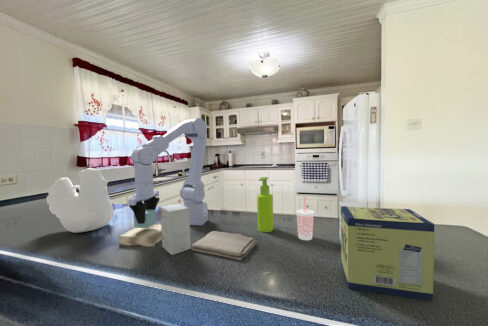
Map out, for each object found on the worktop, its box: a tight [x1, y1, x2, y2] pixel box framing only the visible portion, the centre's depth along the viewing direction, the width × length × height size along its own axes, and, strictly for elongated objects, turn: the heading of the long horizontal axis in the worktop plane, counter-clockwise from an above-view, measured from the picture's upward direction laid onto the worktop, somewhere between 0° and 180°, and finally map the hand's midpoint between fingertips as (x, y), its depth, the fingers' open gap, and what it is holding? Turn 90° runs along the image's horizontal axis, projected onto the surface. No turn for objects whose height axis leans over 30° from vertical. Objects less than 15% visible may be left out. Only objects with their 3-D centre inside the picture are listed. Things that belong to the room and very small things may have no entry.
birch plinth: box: [118, 223, 162, 247], centre depth 76 cm, size 12×12×3 cm
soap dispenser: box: [256, 176, 274, 233], centre depth 81 cm, size 6×7×20 cm
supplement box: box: [338, 201, 367, 242], centre depth 67 cm, size 7×7×13 cm
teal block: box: [133, 209, 157, 228], centre depth 75 cm, size 5×5×5 cm
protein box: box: [340, 206, 435, 302], centre depth 48 cm, size 10×16×16 cm
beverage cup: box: [295, 196, 315, 241], centre depth 73 cm, size 6×6×14 cm
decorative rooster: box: [45, 167, 115, 234], centre depth 87 cm, size 25×16×25 cm, turn 75°
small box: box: [160, 203, 192, 256], centre depth 67 cm, size 8×6×13 cm
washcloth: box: [190, 230, 257, 261], centre depth 67 cm, size 12×18×3 cm, turn 67°
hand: (146, 220), depth 75 cm, fingers closed on teal block, 5 cm apart
